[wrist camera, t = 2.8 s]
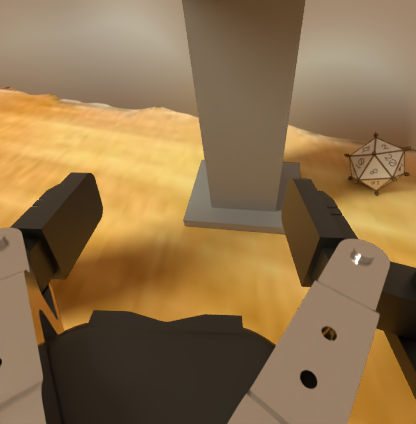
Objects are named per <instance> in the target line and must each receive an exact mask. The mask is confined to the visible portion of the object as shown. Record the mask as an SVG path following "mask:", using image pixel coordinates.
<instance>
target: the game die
mask: <svg viewBox="0 0 416 424" xmlns="http://www.w3.org/2000/svg"><path fill="white" fill-rule="evenodd" d="M377 136H378V134H377V133H376V132H375V134H374V137H375V138H374V139H373V140H371V141H370V142H368V143H367V144H366V145H364V146H363V147H361V148H360V149H358V150H357V151H355V152H354V153H353V154H351V155H349V154H344V155H345V157H349V159H350V167H351V175H352V176H350V177H349V178H348V180H351V179H352V178H354V179H356V180H355V181H354V183H358V182H361V183H363V184H365V185H366V186H368V187H370V188H372V189H373V190H375V195H376V196H377V195H378V194H379V193H378V190H379V189H381V188H382V187H384V186H386V185H387V184H389V183H391V182H392V181H397V178H399V177H400V176H402V175H404V176H410V175H409V173H407V172H406V173H405V172H404V166H405V151H408V150H409V149H410V148H411V147H406V148H405V149H402V148H400V147H397V146H395V145H393V144H390V143H388V142H386V141H383V140H381V139H379V138H377Z"/></svg>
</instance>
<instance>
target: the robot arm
mask: <svg viewBox="0 0 416 424" xmlns="http://www.w3.org/2000/svg"><path fill="white" fill-rule="evenodd" d="M102 214H103V206H102V202H101V198H100V194H99V191H98V187H97V184H96V180H95V177H94V175H93V174H92V173H70V174H69V175H68V176H67V177H66V178H65V179H64V180H63V181H62V182H61V183H60V184H58V185H56V186H54V187H53V188H51V189H49V190H47V191H46V192H45V193H44V194H43V195H42V196H41V197H40V198H39V200H37V201H36V202H35V203H34V204H33V205H32V207H30V208H29V209H28V210H27V211H26V212H25V213H24V214H23V215H22V216H21V217H20V218H19V219H18V220H17V221H16V222H15V223H14V224H13V225H12V226H11V227H10V228H1V229H0V424H347V423H348V420H349V417H350V413H351V410H352V407H353V403H354V400H355V397H356V394H357V390H358V387H359V384H360V380H361V377H362V374H363V370H364V367H365V364H366V360H367V357H368V354H369V350H370V347H371V344H372V340H373V337H374V334H375V330H376V328H377V329H380V330H383V331H384V333H385V335H386V337H387V339H388V341H389V343H390V346H391V348H392V350H393V352H394V354H395V356H396V358H397V361H398V363H399V365H400V367H401V369H402V371H403V373H404V375H405V378H406V380H407V382H408V384H409V386H410V388H411V390H412V393H413V395H414V397H415V399H416V268H414V267H410V266H406V265H402V264H398V263H394V262H390V261H389V258H388V257H387V255H386V254H385V253H384V252H383V251H382V250H381V249H380V248H378V247H377V246H375V245H374V244H371V243H369V242H367V241H364V240H360V239H358V238H357V236H356V235H355V233H354V232H353V230H352V229H351V227H350V225H349V224H348V222H347V221H346V219H345V218H344V216H342V213H341V211H340V210H339V209H338V207H337V205H336V203H335V202H334V200H333V199H332V198H331V197H330V196H328V195H327V194H326V193H324V192H323V191H317V189H316V188H315V186H314V184H313V182H312V181H311V179H300V178H291V179H290V180H289V182H288V186H287V190H286V195H285V199H284V203H283V208H282V215H281V218H282V225H283V228H284V231H285V235H286V238H287V241H288V244H289V247H290V251H291V254H292V257H293V260H294V263H295V267H296V270H297V273H298V276H299V279H300V283H301V286H302V287H311V288H310V290H309V291H308V293H307V295H306V296H305V298H304V300H303V301H302V303H301V305H300V306H299V308H298V310H297V311H296V313H295V315H294V316H293V318H292V320H291V321H290V323H289V325H288V327H287V328H286V330H285V332H284V333H283V335H282V337H281V338H280V340H279V342H278V343H277V345H275V344H274V343H272V342H271V341H269V340H268V339H267V338H265V337H263V336H262V335H260V334H258V333H256V332H254V331H251V330H249V329H246V328H243V326H242V316H234V315H207V314H205V315H200V316H195V317H190V318H185V319H181V320H176V321H171V322H163V321H159V320H156V319H152V318H149V317H146V316H143V315H139V314H136V313H133V312H126V311H99V310H94V311H93V313H92V316H91V318H90V320H89V323H84V324H81V325H78V326H75V327H73V328H70V329H68V330H66V331H64V328H63V325H62V321H61V318H60V314H59V310H58V307H57V303H56V300H55V296H54V292H53V289H52V287H51V285H50V283H49V282H50V280H51V279H66V278H67V276H68V274H69V273H70V271H71V269H72V268H73V266H74V264H75V262H76V261H77V259H78V257H79V256H80V254H81V252H82V251H83V249H84V247H85V245H86V244H87V242H88V240H89V239H90V237H91V235H92V233H93V232H94V230H95V228H96V227H97V225H98V223H99V221H100V220H101V218H102Z"/></svg>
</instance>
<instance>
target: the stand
mask: <svg viewBox="0 0 416 424" xmlns="http://www.w3.org/2000/svg"><path fill="white" fill-rule="evenodd" d="M182 3H183V10H184V17H185V24H186V31H187V39H188V46H189V53H190V59H191V66H192V73H193V81H194V87H195V94H196V102H197V109H198V116H199V123H200V130H201V137H202V144H203V151H204V158H205V160H202V161H201V164H200V167H199V171H198V174H197V177H196V180H195V184H194V187H193V190H192V194H191V197H190V200H189V203H188V207H187V210H186V213H185V216H184V220H183V221H184V224H185V226H191V227H203V228H215V229H228V230H240V231H252V232H265V233H277V234H285V231H284V228H283V225H282V218H281V215H282V208H283V203H284V199H285V195H286V190H287V186H288V182H289V180H290V179H291V178H300V163H294V162H283V155H284V148H285V141H286V134H287V127H288V120H289V113H290V105H291V98H292V91H293V83H294V77H295V69H296V63H297V55H298V49H299V41H300V34H301V27H302V20H303V13H304V6H305V0H182ZM300 179H301V178H300Z"/></svg>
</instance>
